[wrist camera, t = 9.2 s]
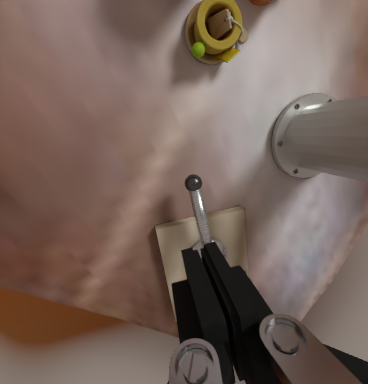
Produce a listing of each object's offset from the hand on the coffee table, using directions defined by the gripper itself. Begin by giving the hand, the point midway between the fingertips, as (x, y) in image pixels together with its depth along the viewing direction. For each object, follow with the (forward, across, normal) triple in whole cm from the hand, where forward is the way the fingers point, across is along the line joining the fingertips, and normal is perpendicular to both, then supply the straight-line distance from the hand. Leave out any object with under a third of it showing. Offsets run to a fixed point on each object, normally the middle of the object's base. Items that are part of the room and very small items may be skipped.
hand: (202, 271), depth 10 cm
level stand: (+21, -4, +16) cm, 27 cm away
